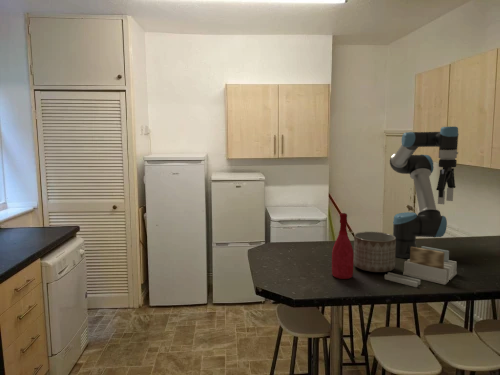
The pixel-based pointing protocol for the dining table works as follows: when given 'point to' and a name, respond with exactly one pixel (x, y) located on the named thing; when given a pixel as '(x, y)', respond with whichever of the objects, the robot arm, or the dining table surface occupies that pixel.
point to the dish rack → (432, 269)
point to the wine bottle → (342, 253)
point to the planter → (374, 251)
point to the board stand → (402, 279)
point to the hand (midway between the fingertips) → (445, 202)
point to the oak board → (427, 257)
